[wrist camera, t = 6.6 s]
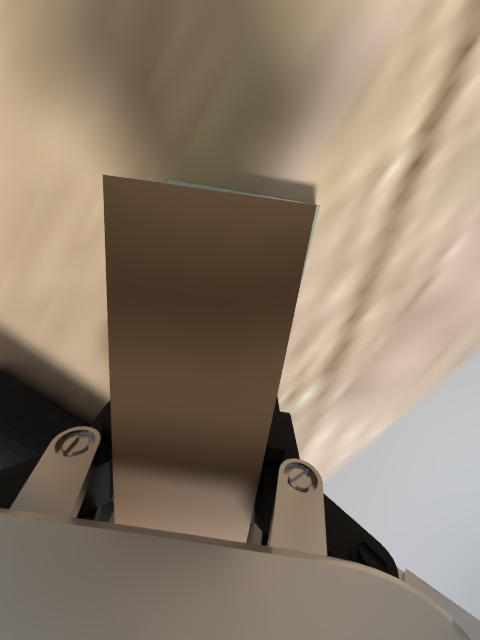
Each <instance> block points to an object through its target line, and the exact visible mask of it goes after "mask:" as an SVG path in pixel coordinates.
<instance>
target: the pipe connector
mask: <svg viewBox="0 0 480 640" xmlns="http://www.w3.org/2000/svg"><path fill="white" fill-rule="evenodd" d="M82 426H85V427H89V426H87V425H85V424H84V423H82V422H81V421H79V420H77V419H76V418H74V417H73V416H71V415H70V414H68V413H66V412H65V411H63V410H62V409H60V408H59V407H57V406H55V405H54V404H52V403H51V402H49V401H47V400H46V399H44V398H43V397H41V396H40V395H38V394H36V393H35V392H33V391H32V390H30V389H29V388H27V387H25V386H24V385H22V384H21V383H19V382H17V381H16V380H14V379H13V378H11V377H10V376H8V375H6V374H5V373H3V372H2V371H0V470H2V469H5V468H8V467H10V466H13V465H16V464H18V463H21V462H24V461H26V460H29V459H32V458H34V457H37V456H39V455H42V454H44V452H45V451H46V449H47V448H48V446H49V444H50V443H51V441H52V440H53V439H54V438H55V437H56V436H57V435H59V434H60V433H61V432H64V431H66V430H68V429H71V428H74V427H82ZM113 511H114V502H111V501H110V502H108V503H106V504H104V505H103V506H102V507H101V512H100V515H99V518H98V521H101V522H109V520H110V518H111V516H112V514H113Z"/></svg>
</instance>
